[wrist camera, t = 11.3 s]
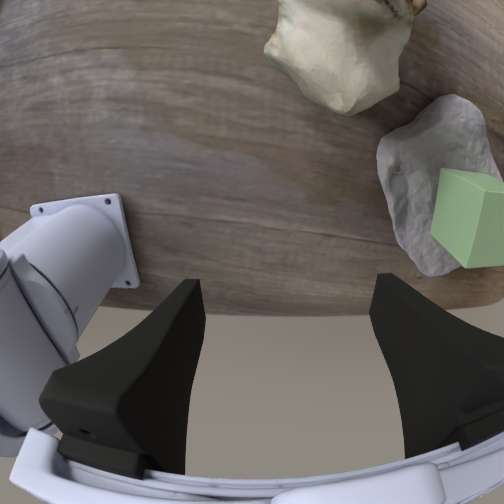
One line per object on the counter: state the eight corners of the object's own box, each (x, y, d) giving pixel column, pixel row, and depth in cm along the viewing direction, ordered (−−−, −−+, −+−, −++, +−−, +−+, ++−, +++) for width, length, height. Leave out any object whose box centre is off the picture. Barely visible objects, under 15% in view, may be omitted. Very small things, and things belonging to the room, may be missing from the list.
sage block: (429, 233, 17) (464, 269, 13) (440, 167, 15) (484, 190, 11) (475, 233, 17) (511, 265, 13) (487, 174, 14) (530, 197, 11)
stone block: (408, 260, 24) (496, 212, 19) (420, 295, 20) (521, 240, 15) (344, 144, 20) (450, 86, 15) (351, 161, 16) (480, 91, 11)
